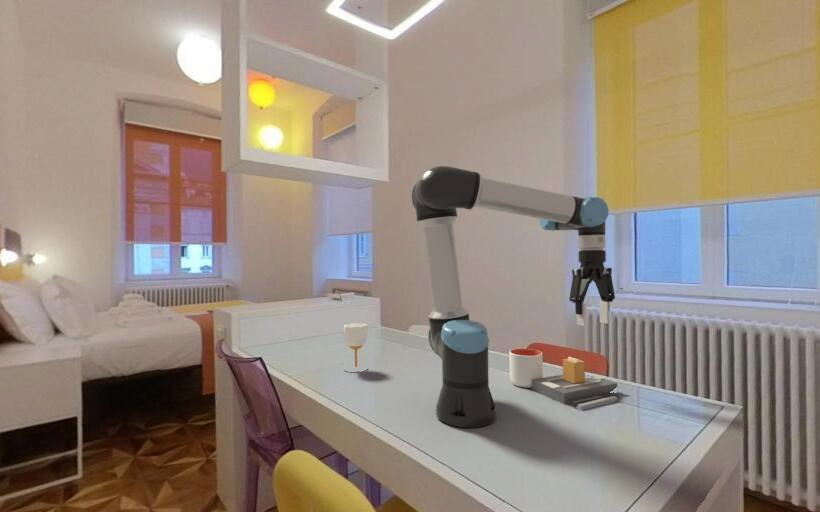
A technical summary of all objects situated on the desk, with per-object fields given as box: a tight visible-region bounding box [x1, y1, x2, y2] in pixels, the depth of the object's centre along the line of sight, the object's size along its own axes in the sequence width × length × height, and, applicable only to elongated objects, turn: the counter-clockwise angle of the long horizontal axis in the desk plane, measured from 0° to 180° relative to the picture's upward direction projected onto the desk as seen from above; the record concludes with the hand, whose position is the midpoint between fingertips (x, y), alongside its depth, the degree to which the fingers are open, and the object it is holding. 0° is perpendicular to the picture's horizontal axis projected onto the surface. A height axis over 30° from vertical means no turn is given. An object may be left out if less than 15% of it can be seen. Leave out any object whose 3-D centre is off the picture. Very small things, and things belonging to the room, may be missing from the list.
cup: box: [508, 348, 544, 389], centre depth 125 cm, size 10×10×10 cm
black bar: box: [570, 392, 619, 408], centre depth 109 cm, size 16×1×1 cm, turn 113°
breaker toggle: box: [562, 356, 586, 384], centre depth 117 cm, size 4×4×7 cm
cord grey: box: [576, 396, 618, 411], centre depth 107 cm, size 14×1×1 cm, turn 116°
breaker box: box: [531, 373, 618, 405], centre depth 117 cm, size 20×13×3 cm, turn 113°
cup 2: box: [343, 322, 369, 367], centre depth 144 cm, size 9×9×16 cm
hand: (592, 323), depth 121 cm, fingers open, 9 cm apart
